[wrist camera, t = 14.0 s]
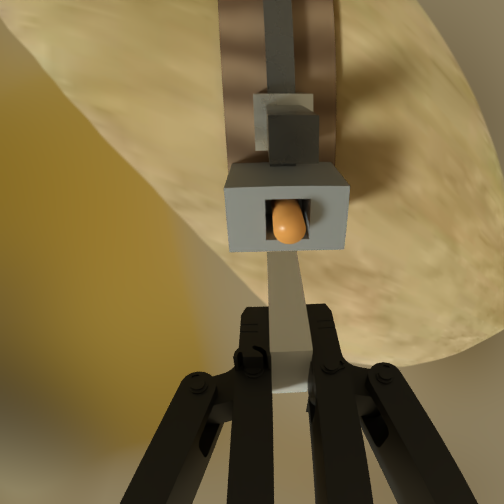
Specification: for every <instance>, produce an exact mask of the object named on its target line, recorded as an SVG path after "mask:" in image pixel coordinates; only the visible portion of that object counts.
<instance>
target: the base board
mask: <svg viewBox="0 0 504 504" xmlns="http://www.w3.org/2000/svg"><path fill="white" fill-rule="evenodd" d="M291 2H292V19H293V39H294V63H295V93H297V92H302V93H311V94H313V112H314V113H316V114H318V115H319V162H331V163H332V164H333V165H334V166H335V146H336V52H335V28H334V10H333V0H291ZM218 11H219V31H220V50H221V67H222V84H223V100H224V116H225V131H226V145H227V159H228V173H229V171H230V168H231V165H232V164H236V163H262V162H269V155H268V150H266V151H255V128H254V106H253V94H256V93H267V77H266V54H265V34H264V15H263V0H218Z"/></svg>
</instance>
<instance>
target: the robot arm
mask: <svg viewBox="0 0 504 504" xmlns="http://www.w3.org/2000/svg"><path fill="white" fill-rule="evenodd" d="M267 266H268V301H269V307H247V308H246V309H245V310H244V312H243V313H242V315H241V326H240V339H239V348H238V349H237V350H236V351H235V353H234V356H233V359H234V365H235V366H234V368H232V369H231V370H230V371H228V372H226V373H223V374H220V375H216V376H211V375H210V374H208V373H205V372H194V373H191V374H189V375H187V376H186V377H185V378H184V379H183V380H182V381H181V383H180V386H179V387H178V389H177V391H176V393H175V395H174V397H173V399H172V401H171V403H170V405H169V407H168V409H167V411H166V413H165V415H164V417H163V419H162V421H161V423H160V425H159V427H158V429H157V431H156V433H155V435H154V437H153V439H152V441H151V443H150V445H149V446H148V449H147V450H146V452H145V455H144V457H143V458H142V460H141V462H140V464H139V466H138V468H137V470H136V472H135V474H134V476H133V478H132V480H131V482H130V484H129V486H128V488H127V490H126V492H125V494H124V496H123V498H122V500H121V502H120V504H192V503H193V500H194V498H195V495H196V493H197V490H198V488H199V485H200V483H201V480H202V478H203V476H204V473H205V470H206V468H207V465H208V463H209V460H210V458H211V455H212V453H213V450H214V448H215V445H216V442H217V440H218V437H219V435H220V432H221V429H222V427H223V424H224V422H228V421H231V420H232V428H231V443H230V459H229V475H228V490H227V504H274V467H273V466H274V464H273V411H272V410H273V408H272V393H291V392H307V388H308V394H309V397H308V404H307V409H306V412H308V413H309V423H310V434H311V447H312V460H313V472H314V487H315V503H316V504H373V498H372V490H371V484H370V477H369V471H368V464H367V458H366V452H365V447H364V441H363V435H362V430H363V432H364V434H365V436H366V438H367V440H368V442H369V444H370V446H371V448H372V450H373V452H374V454H375V457H376V459H377V461H378V463H379V465H380V467H381V469H382V471H383V473H384V475H385V478H386V480H387V482H388V484H389V486H390V488H391V490H392V492H393V494H394V497H395V499H396V501H397V503H398V504H478V503H477V501H476V499H475V497H474V495H473V493H472V492H471V490H470V488H469V486H468V484H467V482H466V480H465V478H464V477H463V475H462V473H461V471H460V470H459V468H458V466H457V464H456V462H455V461H454V459H453V457H452V456H451V454H450V452H449V450H448V449H447V447H446V445H445V443H444V442H443V440H442V438H441V436H440V435H439V433H438V431H437V430H436V428H435V426H434V425H433V423H432V421H431V420H430V418H429V417H428V415H427V413H426V412H425V410H424V409H423V407H422V405H421V404H420V402H419V400H418V399H417V397H416V396H415V394H414V392H413V391H412V389H411V388H410V386H409V385H408V383H407V381H406V380H405V378H404V377H403V375H402V374H401V372H400V371H399V369H398V368H397V367H396V366H394V365H392V364H390V363H385V362H382V363H377V364H375V365H373V366H372V367H371V369H367V368H362V367H357V366H353V365H352V364H350V363H348V362H347V361H346V360H345V359H344V358H343V356H342V353H341V349H340V345H339V341H338V336H337V332H336V328H335V324H334V321H333V316H332V312H331V310H330V309H329V308H328V306H327V305H326V304H306V303H305V297H304V291H303V285H302V279H301V274H300V268H299V262H298V257H297V251H274V252H267ZM361 428H362V430H361Z"/></svg>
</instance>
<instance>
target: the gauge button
mask: <svg viewBox="0 0 504 504" xmlns="http://www.w3.org/2000/svg"><path fill="white" fill-rule="evenodd" d="M271 205H272V218H273V231H274V235H275V237H276V238H277V240H279V241H280V242H282V243H284V244H294V243H297V242H299V241H300V240H301V239H302V238H303V237H304V235H305V232H306V226H305V222H304V219H303V215H302V212H301V208H300V205H299V201H298V199H271Z"/></svg>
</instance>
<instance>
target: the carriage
mask: <svg viewBox="0 0 504 504" xmlns="http://www.w3.org/2000/svg"><path fill="white" fill-rule="evenodd" d="M253 106H254V128H255V151H266V150H268V155H269V164H290V163H319V115H318V114H316V113H314V112H313V94H311V93H302V92H297V93H256V94H253Z"/></svg>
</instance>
